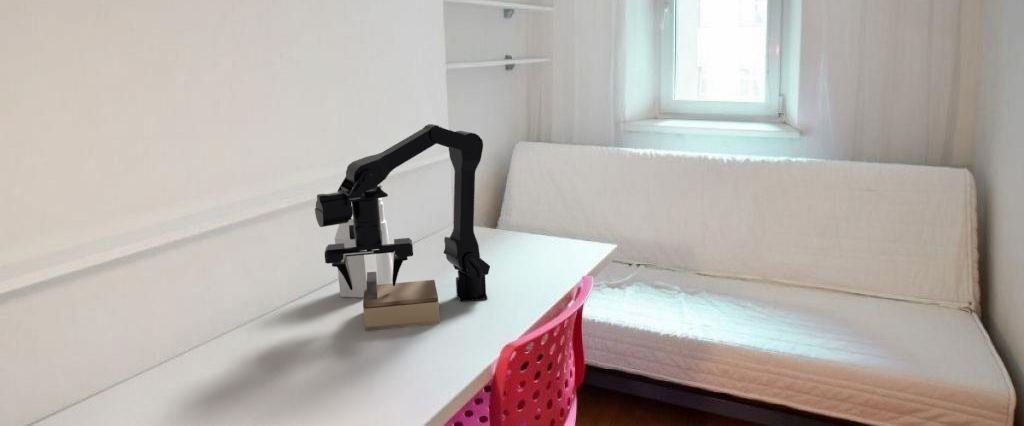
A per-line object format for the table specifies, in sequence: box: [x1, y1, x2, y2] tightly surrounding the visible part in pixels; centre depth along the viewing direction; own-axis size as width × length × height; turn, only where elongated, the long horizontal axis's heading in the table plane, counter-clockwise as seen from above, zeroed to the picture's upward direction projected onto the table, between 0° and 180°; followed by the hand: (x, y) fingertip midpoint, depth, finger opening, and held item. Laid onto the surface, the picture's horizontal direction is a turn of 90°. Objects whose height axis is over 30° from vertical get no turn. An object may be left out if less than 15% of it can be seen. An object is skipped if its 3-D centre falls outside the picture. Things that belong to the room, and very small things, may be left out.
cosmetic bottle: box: [375, 198, 393, 285], centre depth 184 cm, size 6×6×22 cm
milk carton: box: [334, 218, 378, 299], centre depth 176 cm, size 7×7×19 cm
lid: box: [362, 272, 439, 308], centre depth 160 cm, size 16×12×5 cm
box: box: [362, 300, 441, 332], centre depth 161 cm, size 16×12×5 cm
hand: (372, 287), depth 159 cm, fingers open, 9 cm apart
